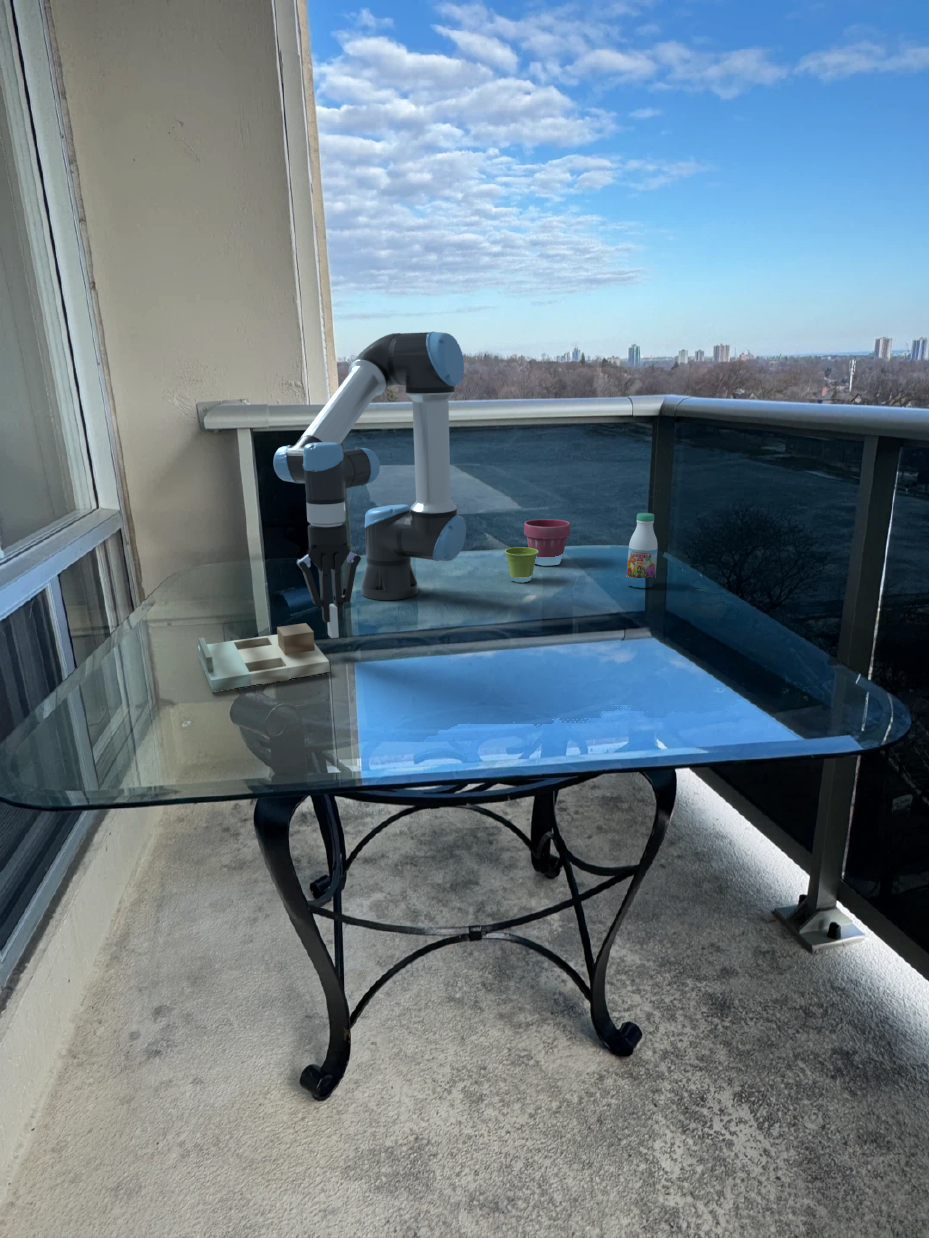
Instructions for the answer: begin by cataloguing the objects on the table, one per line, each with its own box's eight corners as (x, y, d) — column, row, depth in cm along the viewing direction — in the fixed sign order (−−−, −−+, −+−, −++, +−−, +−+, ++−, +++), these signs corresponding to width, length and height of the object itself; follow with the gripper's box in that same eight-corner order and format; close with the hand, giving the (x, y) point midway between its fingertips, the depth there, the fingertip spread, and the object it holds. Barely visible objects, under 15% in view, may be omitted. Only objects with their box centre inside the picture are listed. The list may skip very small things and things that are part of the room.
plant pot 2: (522, 557, 235) (523, 518, 231) (566, 558, 235) (568, 518, 231) (524, 568, 222) (525, 526, 218) (571, 569, 221) (573, 527, 217)
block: (307, 641, 154) (306, 623, 152) (314, 650, 149) (313, 631, 147) (278, 645, 151) (276, 627, 150) (284, 655, 146) (283, 636, 145)
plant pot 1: (538, 585, 204) (539, 554, 202) (504, 585, 204) (505, 554, 202) (536, 576, 213) (537, 547, 210) (503, 576, 213) (504, 547, 211)
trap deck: (304, 641, 161) (302, 617, 159) (329, 673, 144) (328, 646, 142) (199, 657, 152) (196, 631, 150) (212, 692, 135) (209, 664, 133)
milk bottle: (625, 581, 208) (630, 511, 202) (652, 582, 207) (658, 511, 201) (626, 588, 201) (632, 516, 195) (655, 589, 200) (662, 516, 194)
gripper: (352, 517, 151) (357, 626, 159) (289, 522, 146) (297, 634, 153) (364, 523, 145) (369, 636, 152) (298, 529, 139) (306, 646, 147)
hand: (333, 635), depth 153 cm, fingers closed
